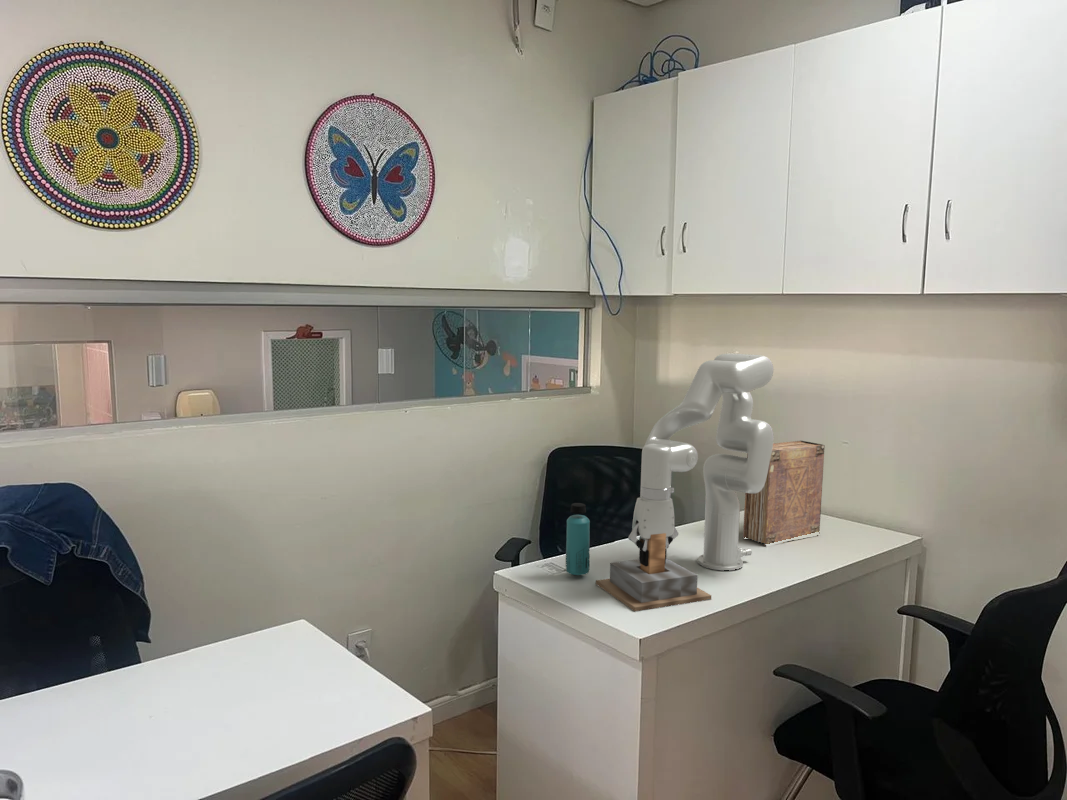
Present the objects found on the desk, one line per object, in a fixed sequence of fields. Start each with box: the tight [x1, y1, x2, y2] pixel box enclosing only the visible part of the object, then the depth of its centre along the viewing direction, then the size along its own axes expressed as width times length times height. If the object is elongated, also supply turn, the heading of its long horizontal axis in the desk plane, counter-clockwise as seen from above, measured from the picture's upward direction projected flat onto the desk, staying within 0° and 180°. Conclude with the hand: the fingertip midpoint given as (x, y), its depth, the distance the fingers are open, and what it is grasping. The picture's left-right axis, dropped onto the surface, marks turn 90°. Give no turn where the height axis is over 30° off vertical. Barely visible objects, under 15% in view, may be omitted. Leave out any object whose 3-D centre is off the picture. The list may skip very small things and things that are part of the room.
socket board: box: [595, 557, 712, 612], centre depth 199 cm, size 22×20×6 cm
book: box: [742, 440, 826, 545], centre depth 248 cm, size 25×9×30 cm, turn 122°
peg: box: [640, 533, 666, 574], centre depth 198 cm, size 4×4×12 cm
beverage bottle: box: [565, 502, 591, 576], centre depth 208 cm, size 6×7×20 cm
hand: (652, 562), depth 198 cm, fingers closed on peg, 4 cm apart
